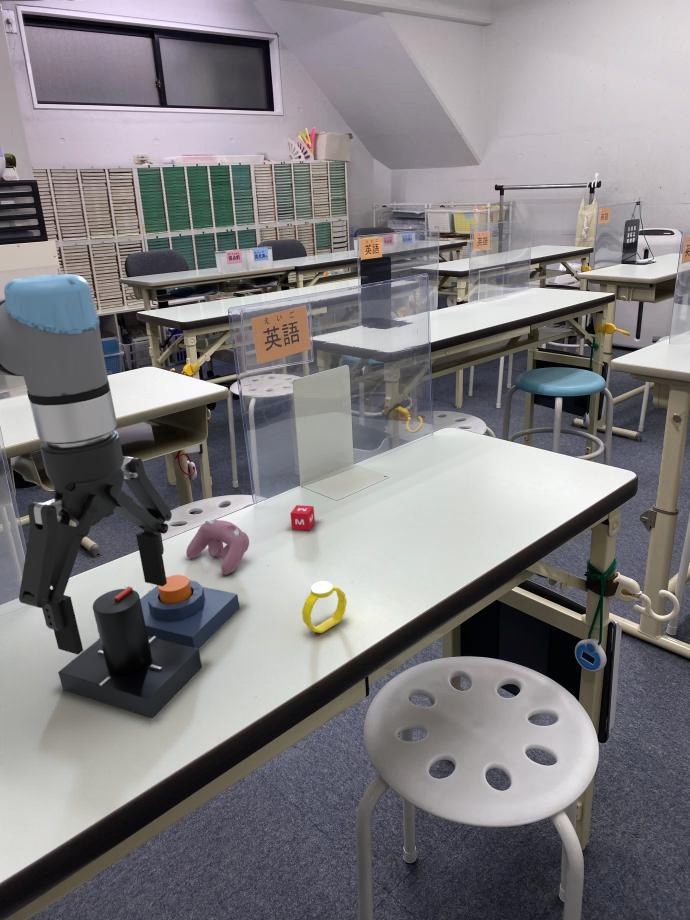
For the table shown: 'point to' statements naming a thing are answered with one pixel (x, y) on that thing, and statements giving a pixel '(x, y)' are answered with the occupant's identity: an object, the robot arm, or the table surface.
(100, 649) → the dial panel
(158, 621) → the button base
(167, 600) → the button
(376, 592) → the table surface
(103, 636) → the dial
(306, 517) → the red letter cube
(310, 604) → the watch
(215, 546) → the video game controller
